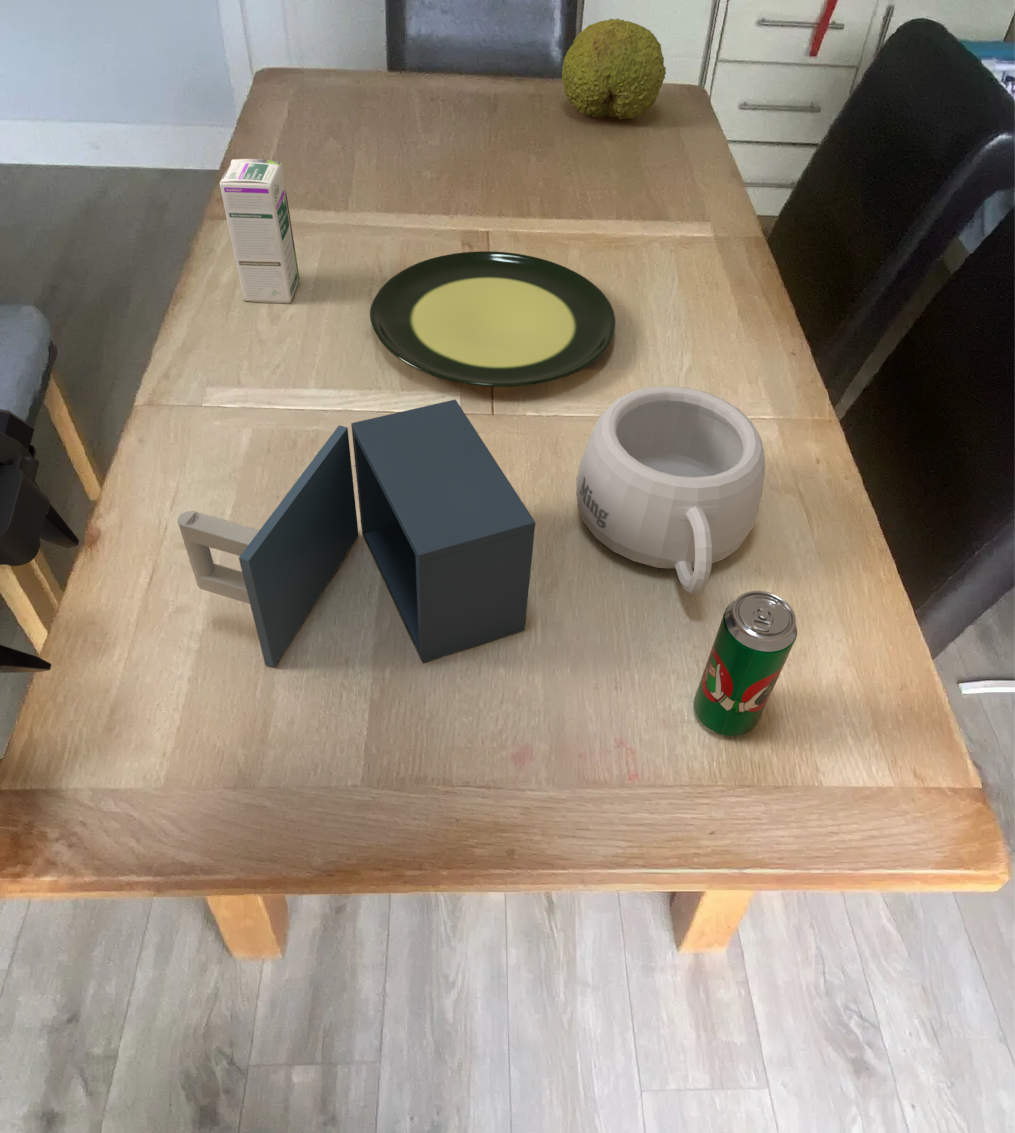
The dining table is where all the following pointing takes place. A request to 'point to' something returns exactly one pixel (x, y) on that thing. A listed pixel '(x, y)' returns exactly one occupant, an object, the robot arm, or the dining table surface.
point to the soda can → (745, 662)
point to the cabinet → (443, 528)
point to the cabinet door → (282, 548)
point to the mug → (672, 480)
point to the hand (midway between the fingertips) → (60, 604)
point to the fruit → (613, 70)
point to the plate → (493, 319)
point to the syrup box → (260, 229)
